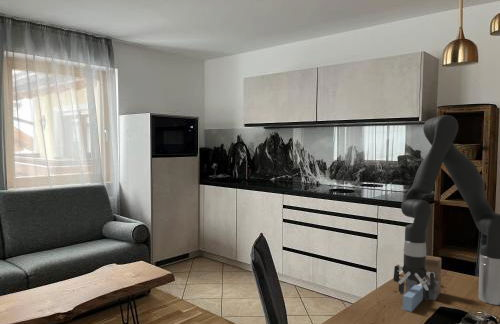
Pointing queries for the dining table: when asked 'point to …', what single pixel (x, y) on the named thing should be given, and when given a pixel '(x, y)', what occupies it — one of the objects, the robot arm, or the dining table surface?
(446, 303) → the dining table surface
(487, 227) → the robot arm
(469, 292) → the dining table surface
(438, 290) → the brown and grey stand
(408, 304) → the blue and white bar
